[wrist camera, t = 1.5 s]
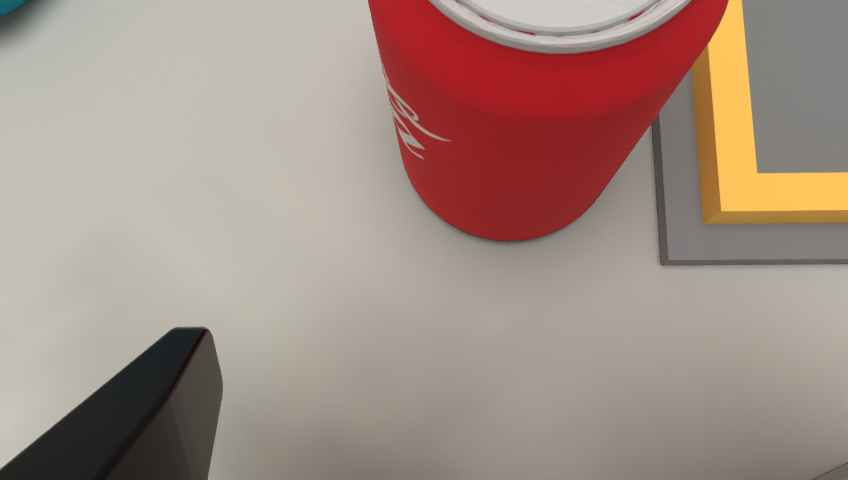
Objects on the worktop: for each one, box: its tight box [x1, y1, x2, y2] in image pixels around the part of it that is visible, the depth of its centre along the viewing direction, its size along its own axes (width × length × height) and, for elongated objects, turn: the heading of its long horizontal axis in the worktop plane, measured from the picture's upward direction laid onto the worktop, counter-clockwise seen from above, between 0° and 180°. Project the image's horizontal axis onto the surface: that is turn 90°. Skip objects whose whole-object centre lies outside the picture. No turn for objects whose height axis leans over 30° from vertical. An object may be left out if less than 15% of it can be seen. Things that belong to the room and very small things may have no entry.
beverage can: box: [368, 0, 729, 241], centre depth 17 cm, size 6×6×12 cm
